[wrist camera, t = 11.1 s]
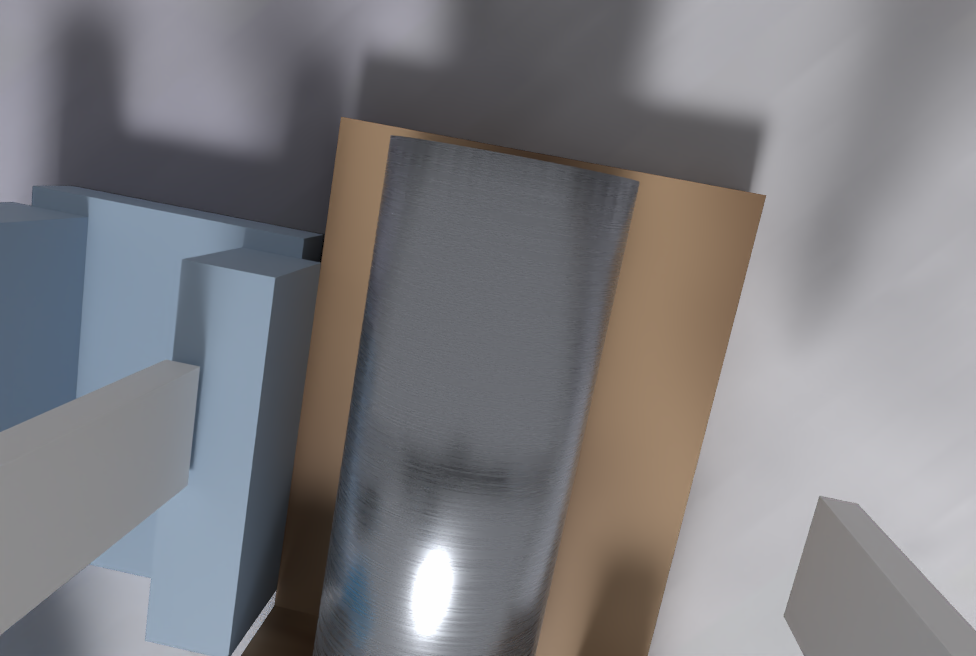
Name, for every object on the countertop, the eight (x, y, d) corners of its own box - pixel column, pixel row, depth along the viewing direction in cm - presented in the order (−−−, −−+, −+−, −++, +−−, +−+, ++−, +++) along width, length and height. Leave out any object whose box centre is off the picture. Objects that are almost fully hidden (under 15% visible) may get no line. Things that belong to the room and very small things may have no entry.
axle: (532, 724, 19) (466, 887, 14) (362, 655, 21) (253, 784, 16) (652, 186, 16) (620, 173, 12) (446, 149, 18) (342, 124, 13)
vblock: (34, 519, 22) (-98, 603, 17) (53, 182, 20) (-90, 181, 15) (293, 576, 21) (225, 678, 17) (341, 238, 19) (277, 253, 15)
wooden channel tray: (251, 882, 24) (170, 1063, 19) (358, 122, 19) (287, 100, 14) (556, 956, 23) (556, 1164, 18) (749, 194, 18) (820, 197, 13)
